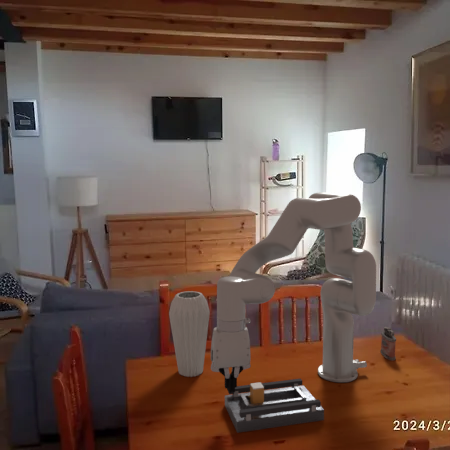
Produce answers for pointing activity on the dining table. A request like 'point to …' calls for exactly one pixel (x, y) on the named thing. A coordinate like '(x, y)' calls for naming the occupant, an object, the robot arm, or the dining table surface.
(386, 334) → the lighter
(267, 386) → the pair of grey rails
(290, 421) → the panel
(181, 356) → the vase
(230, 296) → the robot arm
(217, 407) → the dining table surface
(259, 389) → the block
